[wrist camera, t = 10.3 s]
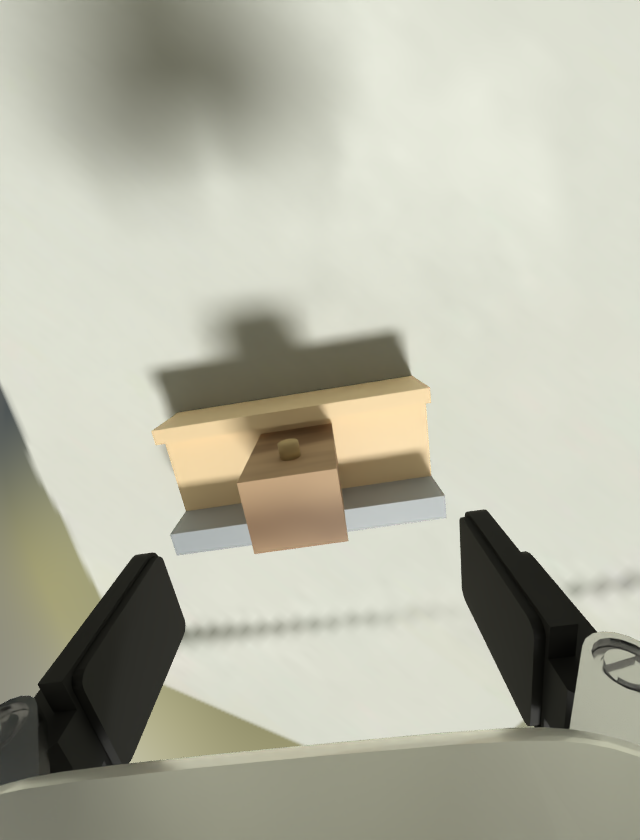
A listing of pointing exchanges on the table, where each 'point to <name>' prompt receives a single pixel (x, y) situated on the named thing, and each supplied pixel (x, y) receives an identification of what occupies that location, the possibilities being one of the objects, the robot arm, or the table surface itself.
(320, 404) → the cleat board
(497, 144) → the table surface
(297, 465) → the cabinet block
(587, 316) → the table surface
